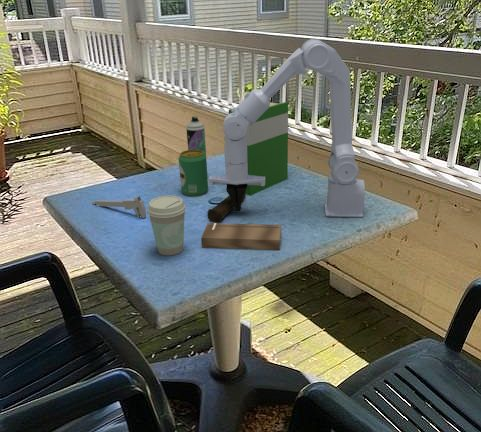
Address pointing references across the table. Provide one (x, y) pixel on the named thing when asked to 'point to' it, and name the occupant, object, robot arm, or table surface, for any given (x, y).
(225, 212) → the dark brown rod
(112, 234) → the table surface
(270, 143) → the hardback book
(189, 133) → the spray can
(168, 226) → the coffee cup
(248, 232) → the walnut board
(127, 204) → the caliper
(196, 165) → the green can
